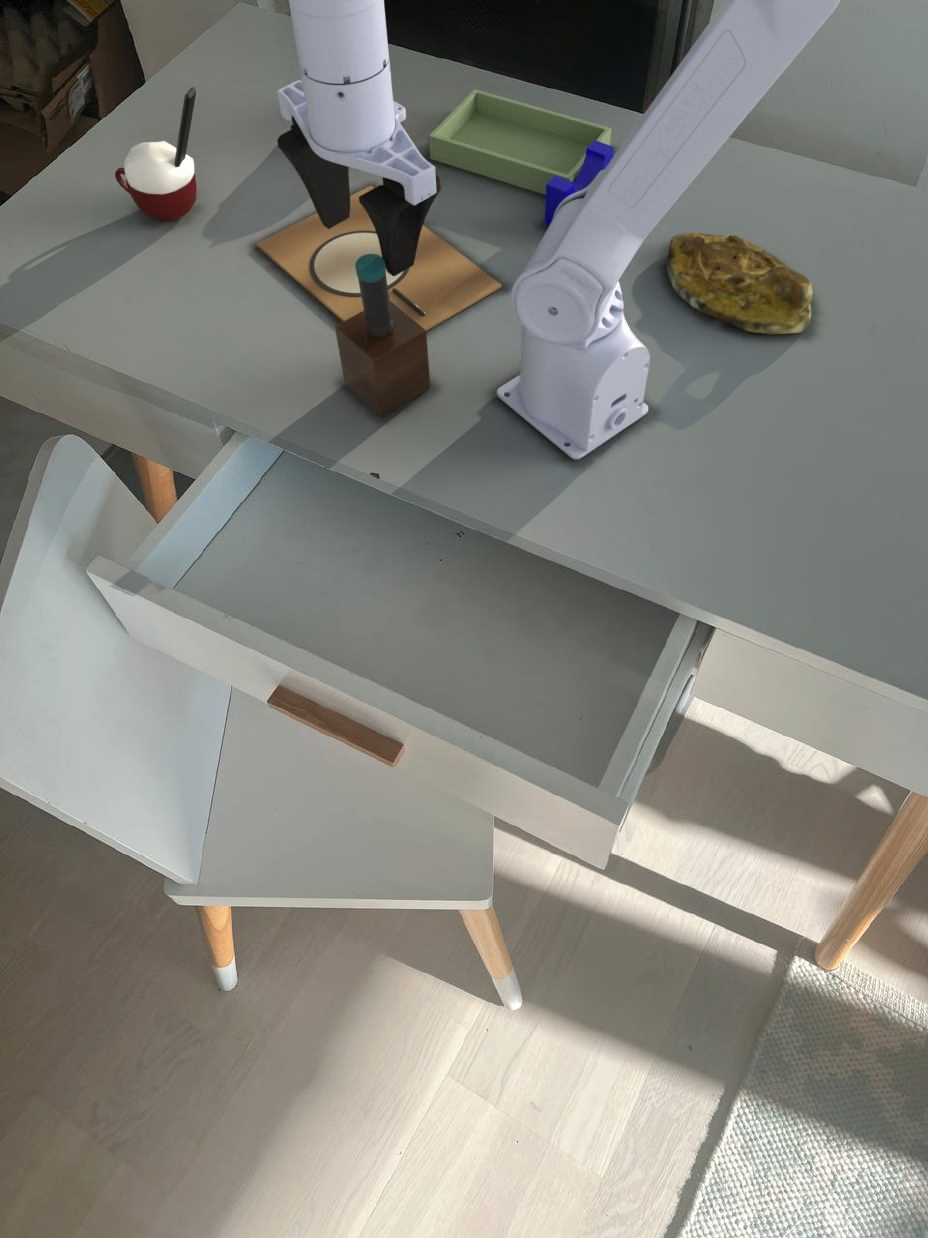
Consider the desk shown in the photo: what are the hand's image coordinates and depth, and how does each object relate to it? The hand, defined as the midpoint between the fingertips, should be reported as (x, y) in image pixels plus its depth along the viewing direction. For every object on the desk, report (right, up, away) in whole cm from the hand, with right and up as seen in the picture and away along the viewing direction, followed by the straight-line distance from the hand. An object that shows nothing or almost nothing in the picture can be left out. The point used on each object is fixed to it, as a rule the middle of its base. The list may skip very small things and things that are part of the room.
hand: (368, 244), depth 75 cm
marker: (+1, -6, +1) cm, 6 cm away
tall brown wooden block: (+1, -9, +6) cm, 11 cm away
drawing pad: (-1, +3, +14) cm, 15 cm away
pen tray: (+13, +17, +23) cm, 31 cm away
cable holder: (+17, +13, +15) cm, 26 cm away
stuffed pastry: (+31, 0, +12) cm, 33 cm away
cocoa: (-20, +10, +20) cm, 30 cm away
